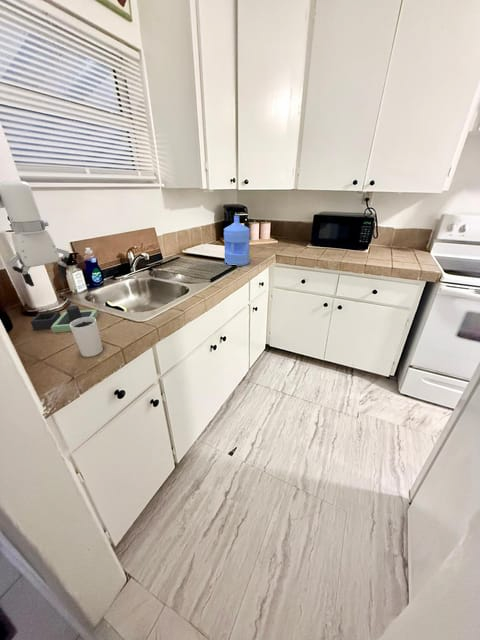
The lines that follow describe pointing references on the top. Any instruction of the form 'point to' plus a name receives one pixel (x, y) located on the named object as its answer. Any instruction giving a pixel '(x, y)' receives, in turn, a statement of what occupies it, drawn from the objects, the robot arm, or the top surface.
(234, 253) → the water jug
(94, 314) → the green square tray
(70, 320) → the black stud pad
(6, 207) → the robot arm
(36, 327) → the dark grey square bin
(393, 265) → the top surface
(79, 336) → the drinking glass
